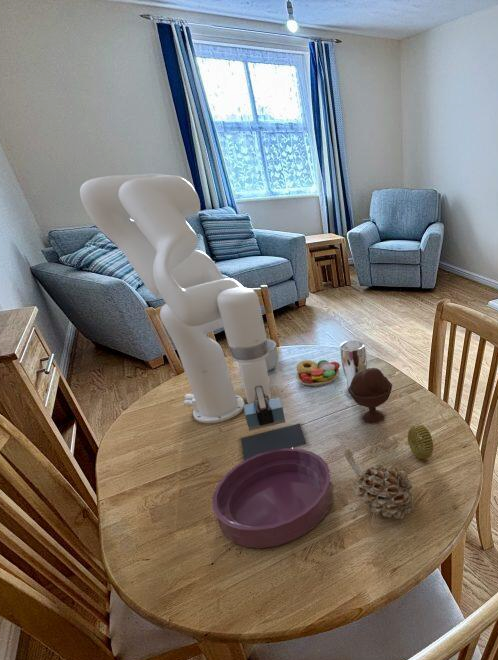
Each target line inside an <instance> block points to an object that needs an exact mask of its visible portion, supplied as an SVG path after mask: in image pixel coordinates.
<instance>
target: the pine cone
mask: <svg viewBox="0 0 498 660" xmlns="http://www.w3.org/2000/svg"><path fill="white" fill-rule="evenodd" d="M353 454H354V453H353V452H352V451H351V450H350V449H349V447H347V448H346V449H345V452H344V456H345V459H346V460H347V461H348V464H349V466H350V467H351V469H352V470H353V472H354V473H355V475H356V477H357V479H355V482H357V486H356V490H355V492H354V493H355V494H356V498H357V499H361V503H362V505H364V506H365V507H366V508H367V509H368V508H369V507H371V512H372V513H374V514H376V515H378V514H382V516H383V518H386V517H387V518H391V517H392V516H393V518H395V519H403V518H404V516H405V514H408V515H409V514H410V513H411V512H412V511H413V510H414V509H415V505H414V494H412V493H411V491H412V490H413V489H415V488H414V486H413V481H412V480H410V479H409V474H407V473H405V471H403V470H401V471H399V468H398V465H389V466H387V467H385V465H384V464H383V463H381V464H380V463H377V464H376V465H375V466H369V467H367V468H366V469H365V470H363V471H362V470H361V469H360V467H359V466H358V464H357V463H356V461H355V458H354V456H353Z"/></svg>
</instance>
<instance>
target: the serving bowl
mask: <svg viewBox="0 0 498 660" xmlns="http://www.w3.org/2000/svg"><path fill="white" fill-rule="evenodd" d="M211 499H212V500H211V501H212V511H213V513H214V515H215V518H216V521H217V523H218V525H219V527H220V530H221V532H222V534H223V535H224V537H226V538H227V539H228V540H230V541H231V542H232V543H233V544H237V545H240V546H242V547H245V548H256V549H265V548H270V547H276V546H280V545H284V544H286V543H289V542H292V541H295V540H296V539H298V538H300V537H301V536H304V535H305V534H307V533H309V532H310V531H312V529H314V528H315V527H316V526H317V525H318V524H319V523H321V521H322V520H323V519H324V517H325V516H326V514H327V513H328V512H329V510H330V508H331V505H332V502H333V500H334V485H333V480H332V474H331V471H330V468H329V464H328V463H327V462H326V461H325V460H324V459H323V457H322V456H320V455H319V454H316V453H315V452H313V451H310V450H306V449H302V448H294V447H293V448H284V449H276V450H271V451H267V452H263V453H260V454H257V455H255V456H253V457H250V458H248V459H246V460H245V461H244V460H243V461H241V462H240V463H238V464H237V465H235V466H233V467H232V468H231V469H230V470H229V471H228V472H226V473H225V474H224V475H223V477H222V478H221V479H220V481H219V482H218V483H217V485H216V486H215V489H214V491H213V495H212V496H211Z"/></svg>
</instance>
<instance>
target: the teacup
mask: <svg viewBox="0 0 498 660" xmlns="http://www.w3.org/2000/svg"><path fill="white" fill-rule="evenodd" d="M267 342H268V347H269V354H268V355H267V356H266V357H265V362H266V367H267V372H270V371H271V370H273V369H274V368H275V367H276V366H277V364H278V362H279V354H278V348H277V343H276V341H274V340H273V339H270V338H267Z"/></svg>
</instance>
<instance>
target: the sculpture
mask: <svg viewBox="0 0 498 660" xmlns="http://www.w3.org/2000/svg"><path fill="white" fill-rule="evenodd" d="M407 443H408V446H409V448H410V450H411V452H412V454H413V455H414V457H416V458H417V459H419V460H425V459H428V458H430V457H431V456H432V455H433V453H434V440H433V437H432V435H431V433H430V431H429V430H428V428H427V427H426V426H424V425H422V424H414V425H412V426H410V428H409V430H408V432H407Z"/></svg>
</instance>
